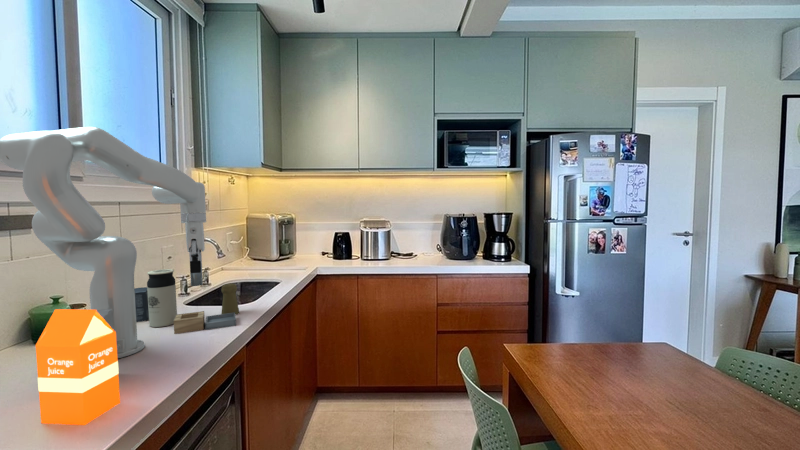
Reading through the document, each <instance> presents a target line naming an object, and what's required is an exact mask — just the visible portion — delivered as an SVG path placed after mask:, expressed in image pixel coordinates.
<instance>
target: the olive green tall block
mask: <svg viewBox="0 0 800 450" xmlns="http://www.w3.org/2000/svg"><path fill="white" fill-rule="evenodd" d="M220 291H221V293H222V303H221V304H222V305H221V313H220V314H228V313H235V314H237V315H238V313H239V314H240V310H239V304H238V299H237V298H238V297H237V294H236V293H237V291H238V287H237V284H235V283H225V284H223V285H222V286H221V290H220Z"/></svg>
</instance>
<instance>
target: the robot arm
mask: <svg viewBox="0 0 800 450" xmlns="http://www.w3.org/2000/svg"><path fill="white" fill-rule="evenodd" d="M86 161H87V162H88V161H89V162H91V163H93V164H94V165H97V166H98V167H100V168H102V169H105V170H106V171H108V172H109V173H111V174H113V175H115V176H116V177H118V178H120V179H121V180H123V181H126V182H129V183H134V184H138V185H144V186H152V188H151V194H152V197H153V198H154V199H155V200H156V201H157V202H159V203H161V204H165V205H166V204H167V205H170V204H174V205H175V204H179V206H180V208H179V209H180V224H184V225H185V226H184V227H185V243H186V250H187V252H188V253H189V252H190V256H189V271H190V272H189V273H200V272H201V261H200V252H199V250H201V253H202V252H204V251H205V250H206V249H205V248H206V247H205V230H204V223H207V209H206V207H207V206H206V188H205V184H204V183H203V182H199V181H195V179H193V178H192V177H191V176H190V175H188V174H187V173H185V172H183V171H182V170H180V169H178V168H176V167H173V166H171V165H168V164H166V163H164V162H160V161H158V160H155V159H153V158H149V157H147V156H145V155H143V154H141V153H140V152H138V151H137V150H136V149H134V148H132V147H130V146H129V145H127V144H126V143H124V142H123V141H121V140H120V139H118V138H117V137H115V136H114V135H112V134H110V133H109V132H107V131H106V130H105V129H103V128H100V127H97V126H96V127H95V126H82V127H72V128H71V127H70V128H65V129H64V128H63V129H55V130H36V131H35V130H34V131H27V132H19V133H10V134H7V135H4V136H3V137H1V138H0V162H1V163H3V164H4V165H5V166H7V167H8V168H11V169H14V170H18V171H22V187H23V193H24V194H25V195H26V197H27V199H28V200H29V201H30V203H31V204H32V205H33V206H34V207H35V208H36V209H37V211H36V212H35V213H34V215H33V217H32V219H31V228H32V231H33V233H34V235H35V236H36V238H37V239H39V241H40V242H41V243H42V244H43V245H45V247H47V248H48V249H49V250H50V251H52V253H54V255H56V257H58V258H59V259H60V260H61V261H62V262H64V263H65V264H66V265H68V266H69V267H70V268H71V269H75V270H76V271H77V270H78V271H83V272H93V273H94V274H93V276H92V279H91V281H90V284H89V306H90V310H105V309H112V311H113V330H114V331H115V332H116V342H117V359H120V358H125V357H128V356H131V355H134V354H136V353H139V352H140V351H142V350H143V349H144V348H145V341H144V340H141V339H138V328H137V322H136V307H135V291H134V289H135V269H136V266H137V265H136V264H137V258H138V252H137V248H136V246H135V244H134V243H133V242H132V241H131V240H129V239H128V238H125V237H122V236H118V235H103V234H104V233H105V230H106V223H105V220H104V219H103V217H102V216H101V214H100V213H99V212H98V211H97V210H96V209H95V208H94V206H93V205H92V204H91V203H90V202H89V201H88V200H87V199H86V198H85V197H84V196H83V195H82V193H81V192H80V191H79V190H78V189H77V187H76V186H75V184H74V183H73V181H72V178H71V167H72V163H75V162H86ZM189 248H190V250H189ZM191 250H192V252H191ZM196 250H198V252H196Z"/></svg>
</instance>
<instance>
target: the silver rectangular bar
mask: <svg viewBox="0 0 800 450" xmlns="http://www.w3.org/2000/svg"><path fill="white" fill-rule="evenodd" d="M189 250H190V248H189ZM191 252H192V250H191ZM196 252H198V250H196ZM199 252H200V261H201V272H200V273H190V272H189V273H190V274H189V275H190V276H189V277H190V286H191V287H200V286H203V285H204V284H203V283H204V281H203V261H202V260H203V258H202V250H199ZM188 254H189V257H190V252H188Z"/></svg>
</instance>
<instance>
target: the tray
mask: <svg viewBox="0 0 800 450" xmlns="http://www.w3.org/2000/svg"><path fill="white" fill-rule="evenodd" d="M234 326H235V327H236V326H237V318H236V315H235V313H228V314H221V313H220V314H214V315H206V316H205V324H204V330H205V331H206V330H207V331H208V330H213V329H221V328H228V327H234Z"/></svg>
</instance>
